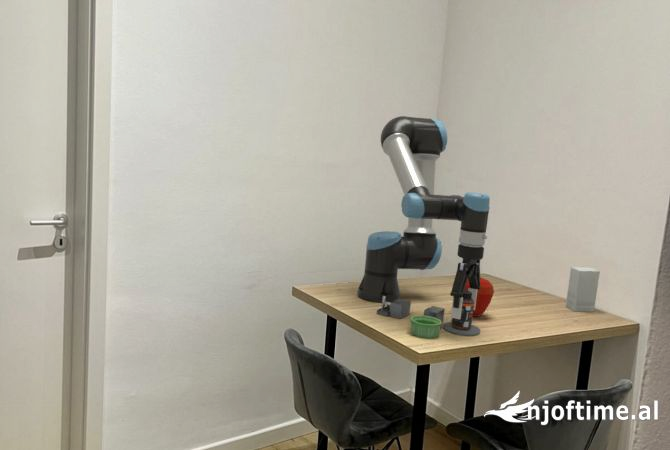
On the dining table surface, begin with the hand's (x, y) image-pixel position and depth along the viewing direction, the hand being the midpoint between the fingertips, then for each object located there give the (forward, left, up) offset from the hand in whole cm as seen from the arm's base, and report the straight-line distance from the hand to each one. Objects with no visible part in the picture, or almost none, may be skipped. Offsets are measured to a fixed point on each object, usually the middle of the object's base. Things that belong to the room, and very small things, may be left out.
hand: (463, 313), depth 179 cm
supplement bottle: (0, 0, -5) cm, 5 cm away
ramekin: (-7, -12, -6) cm, 15 cm away
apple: (-3, +19, -5) cm, 20 cm away
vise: (-17, 0, -5) cm, 18 cm away
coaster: (0, 0, -5) cm, 5 cm away
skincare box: (+25, +59, -5) cm, 64 cm away
